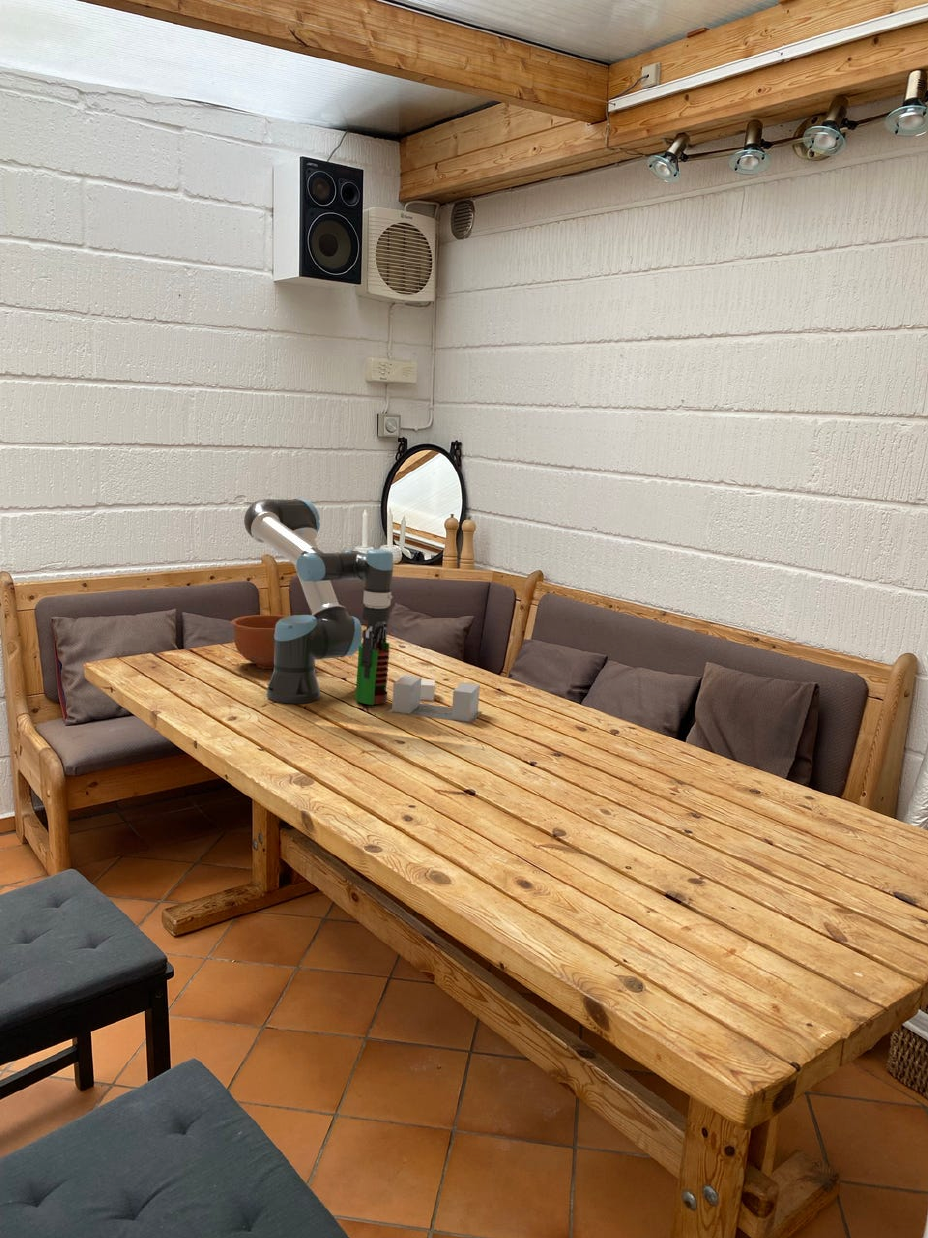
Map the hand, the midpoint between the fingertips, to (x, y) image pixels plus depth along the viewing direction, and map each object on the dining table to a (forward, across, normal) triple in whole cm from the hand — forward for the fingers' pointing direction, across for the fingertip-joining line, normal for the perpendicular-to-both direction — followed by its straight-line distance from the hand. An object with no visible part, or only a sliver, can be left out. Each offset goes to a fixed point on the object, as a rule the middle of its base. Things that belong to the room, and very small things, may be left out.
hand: (372, 685), depth 269 cm
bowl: (+8, +31, +46) cm, 56 cm away
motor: (+4, 0, 0) cm, 4 cm away
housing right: (+5, 0, -28) cm, 28 cm away
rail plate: (+6, 0, -19) cm, 20 cm away
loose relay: (+7, +14, -12) cm, 19 cm away
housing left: (+5, 0, -10) cm, 12 cm away
